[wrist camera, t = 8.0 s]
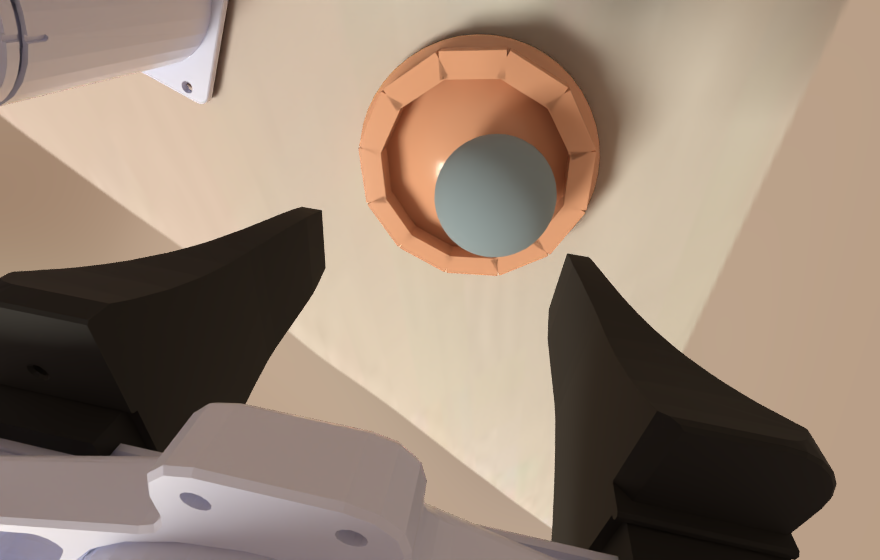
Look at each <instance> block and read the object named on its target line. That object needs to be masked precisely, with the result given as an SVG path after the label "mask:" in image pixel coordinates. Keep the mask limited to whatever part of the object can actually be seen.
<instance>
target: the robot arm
mask: <svg viewBox="0 0 880 560" xmlns="http://www.w3.org/2000/svg"><path fill="white" fill-rule="evenodd" d="M227 4H228V0H0V106H3V105H7V104H11V103H15V102H19V101H23V100H27V99H31V98H36V97H40V96H44V95H48V94H52V93H56V92H60V91H64V90H68V89H73V88H77V87H81V86H85V85H89V84H93V83H97V82H101V81H106V80H110V79H114V78H118V77H122V76H126V75H130V74H134V73H138V72H142V73H144V74H146V75H147V76H149V77H151V78H153V79H155V80H157V81H158V82H160V83H162V84H164V85H166V86H167V87H169V88H171V89H173V90H175V91H176V92H178V93H180V94H182V95H184V96H186V97H187V98H189V99H191V100H193V101H195V102H196V103H199V104H204V103H207V102H209V101H210V100H211V98H212V93H213V87H214V81H215V75H216V70H217V64H218V58H219V52H220V46H221V40H222V34H223V28H224V22H225V16H226V10H227ZM187 82H189V83H190V84H191V86H192V90H193V91H191V90H190V89H189V88H188V86H187ZM324 270H325V253H324V237H323V222H322V210H317V209H311V208H305V207H300V208H296V209H293V210H290V211H288V212H285V213H282V214H280V215H277V216H275V217H272V218H270V219H268V220H265V221H263V222H260V223H258V224H255V225H253V226H250V227H248V228H245V229H242V230H240V231H237V232H234V233H231V234H229V235H226V236H223V237H220V238H217V239H215V240H212V241H209V242H206V243H202V244H199V245H196V246H192V247H188V248H185V249H181V250H177V251H173V252H169V253H164V254H159V255H155V256H149V257H145V258H139V259H134V260H130V261H123V262H116V263H110V264H103V265H94V266H86V267H76V268H65V269H50V270H37V271H21V272H11V273H8V274H6V275H4V276H3V277H1V278H0V560H791V559H794V560H795V559H797V558H798V557H799V549H798V547H797V545H796V543H795V541H794V539H793V537H792V534H791V533H792V532H793V531H794V530H795V529H797V528H798V527H799V526H801V525H802V524H803V523H804V522H806V521H807V520H808V519H809V518H811V517H812V516H813V515H814V514H815V513H817V512H818V511H819V510H820V509H822V507H823V506H824V505H825V504H826V503H827V502H828V501H829V500H830V499H831V497H832V496H833V493H834V490H835V487H836V480H835V476H834V472H833V470H832V469H831V467H830V465H829V464H828V462H827V461H826V459H825V457H824V456H823V454H822V452H821V451H820V449H819V447H818V446H817V444H816V443H815V441H814V439H813V438H812V436H811V434H810V433H809V431H808V430H807V429H806V428H804V427H802V426H800V425H798V424H796V423H794V422H793V421H791V420H789V419H787V418H785V417H783V416H781V415H779V414H778V413H775V412H774V411H772V410H770V409H768V408H766V407H764V406H762V405H761V404H759V403H757V402H755V401H753V400H752V399H750V398H748V397H747V396H745V395H743V394H742V393H740V392H738V391H737V390H735V389H733V388H732V387H730V386H729V385H727V384H725V383H724V382H722V381H721V380H719V379H717V378H716V377H715V376H713V375H711V374H710V373H709V372H707V371H706V370H705V369H703V368H702V367H700V366H699V365H697V364H696V363H695V362H693V361H692V360H691V359H689V358H688V357H687V356H685V355H684V354H683V353H681V352H680V351H679V350H678V349H676V348H675V347H674V346H673V345H671V344H670V343H669V342H668V341H667V340H666V339H664V338H663V337H662V336H661V335H660V334H659V333H657V332H656V331H655V330H654V329H653V328H652V327H651V326H650V325H649V324H648V323H647V322H646V321H645V320H644V319H643V318H642V317H641V316H640V315H639V314H638V313H637V312H636V311H635V310H634V309H633V308H632V307H631V306H630V305H629V304H628V303H627V301H626V300H625V299H624V298H623V297H622V296H621V295H620V294H619V292H618V291H617V290H616V289H615V288H614V286H613V285H612V284H611V283H610V282H609V280H608V279H607V278H606V277H605V276H604V274H603V273H602V272H601V271H600V269H599V268H598V267H597V266H596V265H595V263H594V262H593V261H592V260H591V259H590V258H589V257H584V256H578V255H573V254H567V256H566V259H565V262H564V265H563V268H562V271H561V274H560V277H559V280H558V283H557V286H556V289H555V292H554V295H553V299H552V302H551V305H550V308H549V319H548V346H549V356H550V366H551V375H552V384H553V393H554V402H555V478H554V503H553V526H552V541H548V540H543V539H539V538H534V537H530V536H526V535H521V534H517V533H513V532H508V531H503V530H499V529H495V528H490V527H486V526H482V525H478V524H473V523H470V522H469V521H466V520H464V519H461V518H459V517H457V516H454V515H452V514H450V513H447V512H445V511H443V510H440V509H438V508H435V507H433V506H431V505H429V504H426V503H424V495H425V488H426V482H427V480H426V477H425V473H424V470H423V467H422V463H421V462H420V460H419V459H418V458H417V457H416V456H415V455H413V454H412V453H411V452H410V451H409V450H408V449H406V448H405V447H404V446H403V445H402V444H401V443H399V442H398V441H395V440H393V439H390V438H388V437H385V436H382V435H380V434H377V433H374V432H372V431H368V430H363V429H358V428H354V427H349V426H344V425H339V424H335V423H330V422H326V421H321V420H316V419H311V418H307V417H302V416H298V415H293V414H288V413H284V412H279V411H275V410H270V409H265V408H261V407H256V406H251V405H246V402H247V400H248V398H249V396H250V393H251V392H252V390H253V388H254V386H255V384H256V382H257V380H258V378H259V376H260V374H261V372H262V371H263V369H264V367H265V365H266V363H267V361H268V360H269V358H270V356H271V354H272V353H273V351H274V350H275V348H276V347H277V345H278V344H279V342H280V341H281V339H282V338H283V337H284V335H285V334H286V332H287V331H288V329H289V328H290V327H291V325H292V324H293V322H294V321H295V319H296V318H297V317H298V315H299V314H300V312H301V311H302V309H303V308H304V306H305V305H306V303H307V302H308V301H309V299H310V297H311V296H312V294H313V293H314V291H315V289H316V287H317V285H318V283H319V281H320V279H321V276H322V274H323V272H324Z"/></svg>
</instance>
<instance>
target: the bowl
mask: <svg viewBox="0 0 880 560" xmlns="http://www.w3.org/2000/svg"><path fill="white" fill-rule="evenodd" d="M487 134H506V135H511V136H515V137H518V138H520V139H523V140H524V141H526V142H528V143H529V144H531V145H533V146H534V147H535V148H536V149H537V150H538V151H539V152H540V153H541V154H542V155H543V156H544V157H545V159H546V160H547V162H548V164H549V165H550V167H551V169H552V172H553V175H554V178H555V182H556V190H557V199H556V206H555V211H554V214H553V217H552V219H551V221H550V223H549V225H548V227H547V228H546V230H545V231H544V233H543V234H542V235H541V236H540V237H539V239H538V240H536V241H535V242H534V243H533V244H532V245H530V246H529V247H527V248H526V249H524V250H522V251H520V252H518V253H515V254H513V255H509V256H504V257H484V256H480V255H476V254H473V253H470V252H468V251H467V250H465V249H463V248H461V247H460V246H459V245H457V244H456V243H455V242H454V241H453V240H452V239H451V238H450V237H449V236H448V235H447V233H446V232H445V231H444V229H443V228H442V226H441V223H440V221H439V219H438V216H437V213H436V208H435V201H434V197H435V186H436V181H437V178H438V175H439V173H440V170H441V168H442V166H443V165H444V163H445V161H446V160H447V159H448V157H449V156H450V155H451V154H452V153H453V152H454V151H455V150H456V149H457V148H458V147H460V146H461V145H463V144H464V143H466V142H468V141H469V140H471V139H474V138H476V137H479V136H483V135H487ZM359 146H360V148H359V155H360V162H361V170H362V175H363V182H364V189H365V196H366V202H369V203H368V206H369V207H370V209H371V210H372V211H373V213H374V214H375V216H376V217H377V218H378V220H379V221H380V222H381V224H382V225H383V226H384V228H385V229H386V231H387V232H388V233H389V235H390V236H391V237H392V239H393V240H394V242H395V243H396V244H397V246H400V245H401V247H400V248H401V249H403V250H405V251H406V252H408V253H410V254H412V255H414V256H416V257H418V258H419V259H421V260H423V261H425V262H427V263H429V264H431V265H432V266H434V267H436V268H438V269H440V270H442V271H444V272H445V270H446V269H447V273H461V274H477V275H493V276H497V274H498V273H499V275H502V274H504V273H507V272H509V271H512V270H514V269H517V268H519V267H522V266H524V265H527V264H529V263H532V262H534V261H537V260H539V259H542V258H544V257H547V256H548V253H549V254H551V253H552V252H553V250H554V249H555V248H556V247H557V246H558V244H559V243H560V242H561V241H562V240H563V239H564V237H565V236H566V235H567V234H568V233H569V232H570V231H571V229H572V228H573V227H574V226H575V224H576V223H577V222H578V221H579V220H580V218H581V217H582V216H583V215H584V214H585V210H587V205H588V204H589V201H590V199H591V196H592V194H593V191H594V188H595V184H596V180H597V176H598V169H599V160H600V154H599V139H598V133H597V128H596V124H595V121H594V118H593V115H592V112H591V109H590V107H589V105H588V103H587V101H586V99H585V97H584V95H583V93H582V91H581V90H580V88H579V87H578V85H577V84H576V83H575V81H574V80H573V78H572V77H571V76H570V75H569V74H568V73H567V72H566V71H565V70H564V69H563V68H562V67H561V66H560V64H558V63H557V62H556V61H554V60H553V59H552V58H551V57H549V56H548V55H547V54H545V53H544V52H542V51H540V50H538V49H536V48H534V47H533V46H531V45H529V44H526V43H523V42H521V41H518V40H515V39H512V38H508V37H503V36H498V35H486V34H472V35H463V36H457V37H453V38H449V39H445V40H441V41H439V42H437V43H434V44H432V45H430V46H427V47H425V48H424V49H422V50H420V51H419V52H417V53H415V54H414V55H412V56H411V57H409V58H408V59H407V60H405V61H404V62H403V63H402V64H401V65H399V66H398V67H397V68H396V69H395V70H394V71H393V72H392V73H391V74H390V75H389V76H388V78H387V79H386V80H385V81H384V82H383V84H382V85H381V87H380V88H379V90H378V91H377V93H376V94H375V96H374V98H373V100H372V102H371V104H370V106H369V108H368V111H367V114H366V117H365V121H364V124H363V129H362V135H361V142H360V144H359Z"/></svg>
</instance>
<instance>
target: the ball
mask: <svg viewBox="0 0 880 560" xmlns="http://www.w3.org/2000/svg"><path fill="white" fill-rule="evenodd" d="M556 199H557V190H556V182H555V178H554V175H553V172H552V169H551V167H550V165H549V164H548V162H547V160H546V159H545V157H544V156H543V155H542V154H541V153H540V152H539V151H538V150H537V149H536V148H535V147H534V146H533V145H531V144H529V143H528V142H526V141H524V140H523V139H520V138H518V137H515V136H511V135H506V134H487V135H483V136H479V137H476V138H474V139H471V140H469V141H468V142H466V143H464V144H463V145H461V146H460V147H458V148H457V149H456V150H455V151H454V152H453V153H452V154H451V155H450V156H449V157H448V159H447V160H446V161H445V163H444V165H443V166H442V168H441V170H440V173H439V175H438V178H437V181H436V186H435V197H434V201H435V208H436V213H437V216H438V219H439V221H440V223H441V226H442V228H443V229H444V231H445V232H446V233H447V235H448V236H449V237H450V238H451V239H452V240H453V241H454V242H455V243H456V244H457V245H459V246H460V247H461V248H463V249H465V250H467V251H468V252H470V253H473V254H476V255H480V256H484V257H504V256H509V255H513V254H515V253H518V252H520V251H522V250H524V249H526V248H527V247H529V246H530V245H532V244H533V243H534V242H535V241H536V240H538V239H539V237H540V236H541V235H542V234H543V233H544V231H545V230H546V228H547V227H548V225H549V223H550V221H551V219H552V217H553V214H554V211H555V206H556Z"/></svg>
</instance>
